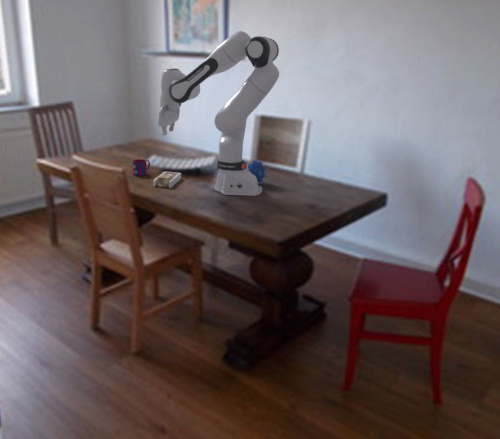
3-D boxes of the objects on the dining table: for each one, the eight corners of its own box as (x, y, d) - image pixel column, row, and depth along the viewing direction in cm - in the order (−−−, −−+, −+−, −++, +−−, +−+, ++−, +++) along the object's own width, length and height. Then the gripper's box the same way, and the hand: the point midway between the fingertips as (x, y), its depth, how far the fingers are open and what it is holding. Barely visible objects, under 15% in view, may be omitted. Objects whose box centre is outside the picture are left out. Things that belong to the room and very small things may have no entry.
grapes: (251, 187, 265) (252, 163, 261) (243, 184, 270) (244, 160, 266) (270, 184, 272) (271, 160, 268) (261, 181, 277) (263, 157, 273)
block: (172, 183, 268) (172, 174, 266) (167, 187, 261) (167, 178, 260) (162, 182, 268) (162, 173, 267) (157, 186, 262) (157, 177, 260)
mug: (130, 173, 280) (130, 160, 277) (146, 170, 286) (146, 157, 284) (138, 176, 275) (137, 163, 273) (154, 173, 282) (154, 160, 280)
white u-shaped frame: (181, 178, 275) (181, 173, 274) (170, 187, 260) (170, 181, 259) (164, 177, 276) (164, 171, 275) (153, 186, 261) (153, 180, 260)
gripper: (168, 108, 248) (167, 138, 253) (182, 101, 267) (180, 130, 272) (155, 106, 249) (154, 136, 254) (170, 100, 268) (168, 128, 273)
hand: (168, 133), depth 263 cm, fingers open, 8 cm apart
